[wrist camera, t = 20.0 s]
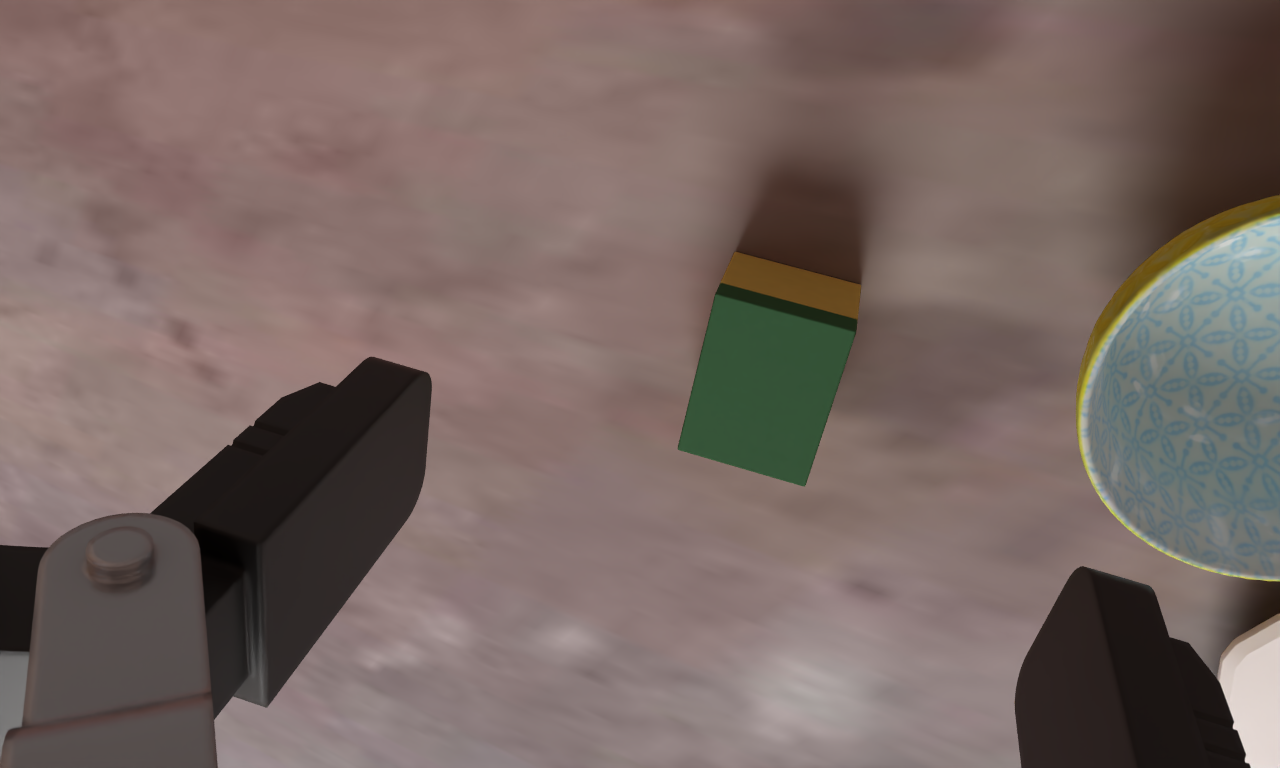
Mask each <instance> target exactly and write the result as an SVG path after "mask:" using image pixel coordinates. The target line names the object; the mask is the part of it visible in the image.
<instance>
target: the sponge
mask: <svg viewBox="0 0 1280 768" xmlns="http://www.w3.org/2000/svg"><path fill="white" fill-rule="evenodd" d="M860 293H861V285H859V284H856V283H852V282H848V281H844V280H841V279H837V278H833V277H829V276H825V275H822V274H818V273H814V272H810V271H807V270H803V269H799V268H795V267H791V266H788V265H784V264H780V263H776V262H773V261H769V260H765V259H761V258H757V257H754V256H750V255H746V254H742V253H739V252H734V254H733V256H732V259H731V261H730V263H729V265H728V267H727V269H726V272H725V274H724V276H723V278H722V280H721V283H720V285H719V287H718V289H717V292H716V294H715V297H714V301H713V306H712V310H711V314H710V318H709V322H708V326H707V330H706V334H705V338H704V342H703V346H702V350H701V355H700V359H699V363H698V367H697V371H696V375H695V379H694V383H693V387H692V391H691V395H690V400H689V404H688V408H687V412H686V416H685V420H684V424H683V428H682V432H681V436H680V440H679V445H678V450H681V451H684V452H687V453H691V454H694V455H698V456H701V457H705V458H708V459H711V460H715V461H718V462H722V463H725V464H729V465H732V466H735V467H739V468H742V469H746V470H749V471H753V472H756V473H759V474H763V475H766V476H770V477H773V478H777V479H780V480H783V481H787V482H790V483H794V484H797V485H801V486H805V485H806V482H807V479H808V476H809V473H810V470H811V467H812V464H813V461H814V458H815V455H816V452H817V449H818V446H819V443H820V440H821V437H822V434H823V431H824V428H825V425H826V422H827V419H828V416H829V413H830V410H831V407H832V404H833V401H834V398H835V395H836V392H837V389H838V386H839V383H840V380H841V377H842V374H843V370H844V367H845V364H846V361H847V358H848V355H849V352H850V349H851V346H852V343H853V340H854V337H855V334H856V329H857V320H858V311H859V302H860Z"/></svg>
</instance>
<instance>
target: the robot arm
mask: <svg viewBox="0 0 1280 768" xmlns="http://www.w3.org/2000/svg"><path fill="white" fill-rule="evenodd" d="M431 392H432V383H431V378H430V375H429V374H428V373H427V372H424V371H420V370H417V369H413V368H410V367H406V366H403V365H400V364H396V363H393V362H389V361H386V360H382V359H379V358H376V357H369V358H367V359H365V360H364V361H363V362H362V363H361V364H360V365H359V366H358V367H356V368H355V369H354V370H353V371H352V372H351V373H350V374H349V375H348V376H347V377H346V378H345V379H344V380H343V381H342V382H341V383H340V384H339V385H337V386H336V387H334V386H331V385H327V384H324V383H321V382H319V383H316V384H314V385H311V386H309V387H307V388H304V389H302V390H299V391H297V392H294V393H292V394H289V395H287V396H285V397H282V398H281V399H279V400H278V401H277V402H276V403H275V404H274V405H273V406H272V407H270V408H269V409H268V410H267V411H266V412H265V413H264V414H262V415H261V416H260V417H259V418H258V419H257V420H256V421H255V424H254V426H249V427H248V428H247V429H245V430H244V431H243V432H242V433H241V434H240V435H239V436H238V437H236V438H235V439H234V440H233V444H232V446H230V445H227V446H226V447H225V448H224V449H223V450H222V451H220V452H219V453H218V454H217V455H216V456H215V457H214V458H213V459H211V460H210V461H209V462H208V463H207V464H206V465H205V466H203V467H202V468H201V469H200V470H199V471H198V472H197V473H196V474H194V475H193V476H192V477H191V478H190V479H189V480H188V481H186V482H185V483H184V484H183V485H182V486H181V487H180V488H179V489H177V490H176V491H175V492H174V493H173V494H172V495H171V496H169V497H168V498H167V499H166V500H165V501H164V502H163V503H162V504H160V505H159V506H158V507H157V508H156V509H155V510H154V511H152V512H151V513H150V514H148V513H126V514H117V515H111V516H106V517H102V518H99V519H95V520H92V521H90V522H87V523H84V524H82V525H80V526H78V527H76V528H74V529H72V530H70V531H68V532H67V533H65V534H64V535H62V536H61V537H60V538H58V539H57V540H56V541H55V542H54V543H53V544H52V545H51V546H50V547H49V548H42V547H23V546H7V545H0V768H218V766H217V753H216V740H215V728H214V719H215V718H216V717H217V715H218V714H219V713H220V712H221V710H222V709H223V708H224V707H225V705H226V704H227V703H228V702H229V700H230V699H231V698H232V697H233V696H234V697H237V698H240V699H243V700H246V701H248V702H251V703H254V704H257V705H260V706H263V707H266V708H267V707H268V706H269V704H270V703H271V702H272V700H273V699H274V698H275V696H276V695H277V694H278V692H279V691H280V689H281V688H282V687H283V685H284V684H285V683H286V681H287V680H288V679H289V677H290V676H291V675H292V673H293V672H294V671H295V669H296V668H297V667H298V665H299V664H300V663H301V661H302V660H303V659H304V657H305V656H306V655H307V653H308V652H309V651H310V649H311V648H312V647H313V645H314V644H315V643H316V641H317V640H318V639H319V637H320V636H321V635H322V633H323V632H324V630H325V629H326V628H327V626H328V625H329V624H330V622H331V621H332V620H333V618H334V617H335V616H336V614H337V613H338V612H339V610H340V609H341V608H342V606H343V605H344V604H345V602H346V601H347V600H348V598H349V597H350V596H351V594H352V593H353V592H354V590H355V589H356V588H357V586H358V585H359V584H360V582H361V581H362V580H363V578H364V577H365V576H366V574H367V573H368V571H369V570H370V569H371V567H372V566H373V565H374V563H375V562H376V561H377V559H378V558H379V557H380V555H381V554H382V553H383V551H384V550H385V549H386V547H387V546H388V545H389V543H390V542H391V541H392V539H393V538H394V537H395V535H396V534H397V533H398V531H399V530H400V529H401V527H402V526H403V525H404V523H405V522H406V521H407V519H408V518H409V516H410V514H411V513H412V511H413V509H414V507H415V505H416V502H417V500H418V497H419V494H420V491H421V488H422V484H423V480H424V475H425V467H426V454H427V442H428V429H429V417H430V405H431ZM1015 715H1016V724H1017V733H1018V741H1019V750H1020V758H1021V767H1022V768H1251V767H1250V764H1249V763H1246V762H1245V757H1246V753H1245V750H1244V747H1243V745H1242V742H1241V739H1240V736H1239V734H1238V731H1237V730H1235V729H1233V724H1234V720H1233V717H1232V714H1231V712H1230V709H1229V706H1228V703H1227V701H1226V698H1225V695H1224V692H1223V690H1222V687H1221V684H1220V682H1219V681H1218V680H1217V678H1216V677H1215V676H1214V675H1213V673H1212V672H1211V671H1210V669H1209V668H1208V667H1207V666H1206V664H1205V663H1204V662H1203V661H1202V659H1201V658H1200V657H1199V656H1198V654H1197V653H1196V652H1195V650H1194V649H1193V648H1192V647H1191V645H1190V644H1189V643H1187V642H1184V641H1180V640H1177V639H1174V638H1170V637H1169V635H1168V632H1167V628H1166V625H1165V622H1164V619H1163V616H1162V613H1161V610H1160V607H1159V603H1158V600H1157V597H1156V595H1155V592H1154V590H1153V589H1152V588H1151V587H1150V586H1149V585H1145V584H1142V583H1139V582H1135V581H1132V580H1128V579H1125V578H1122V577H1118V576H1115V575H1111V574H1108V573H1104V572H1101V571H1098V570H1094V569H1091V568H1087V567H1084V566H1082V567H1079V568H1077V569H1076V570H1075V571H1074V572H1073V573H1072V574H1071V576H1070V577H1069V579H1068V581H1067V582H1066V584H1065V586H1064V588H1063V590H1062V591H1061V593H1060V595H1059V597H1058V599H1057V601H1056V602H1055V604H1054V606H1053V608H1052V610H1051V611H1050V613H1049V615H1048V617H1047V619H1046V621H1045V622H1044V624H1043V626H1042V628H1041V630H1040V631H1039V633H1038V635H1037V637H1036V639H1035V641H1034V642H1033V644H1032V646H1031V648H1030V650H1029V652H1028V653H1027V655H1026V657H1025V659H1024V662H1023V664H1022V667H1021V670H1020V673H1019V677H1018V681H1017V686H1016V693H1015Z"/></svg>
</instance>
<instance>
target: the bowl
mask: <svg viewBox="0 0 1280 768" xmlns="http://www.w3.org/2000/svg"><path fill="white" fill-rule="evenodd" d="M1076 428H1077V436H1078V442H1079V448H1080V453H1081V457H1082V460H1083V464H1084V467H1085V469H1086V472H1087V474H1088V476H1089V478H1090V480H1091V482H1092V484H1093V486H1094V488H1095V490H1096V492H1097V493H1098V495H1099V497H1100V498H1101V500H1102V501H1103V503H1104V504H1105V505H1106V506H1107V507H1108V509H1109V510H1110V511H1111V512H1112V514H1113V515H1114V516H1115V517H1116V518H1117V519H1118V520H1119V521H1120V522H1121V523H1122V524H1123V525H1124V526H1125V527H1126V528H1128V529H1129V530H1130V531H1131V532H1133V533H1134V534H1135V535H1136V536H1138V537H1139V538H1140V539H1142V540H1143V541H1145V542H1146V543H1148V544H1149V545H1151V546H1152V547H1154V548H1156V549H1157V550H1159V551H1161V552H1163V553H1165V554H1167V555H1169V556H1171V557H1173V558H1175V559H1177V560H1180V561H1182V562H1185V563H1187V564H1190V565H1192V566H1195V567H1198V568H1201V569H1205V570H1208V571H1211V572H1216V573H1220V574H1224V575H1228V576H1235V577H1240V578H1245V579H1252V580H1264V581H1279V582H1280V195H1276V196H1272V197H1268V198H1264V199H1261V200H1258V201H1255V202H1251V203H1247V204H1244V205H1240V206H1238V207H1235V208H1232V209H1229V210H1227V211H1224V212H1221V213H1219V214H1217V215H1215V216H1213V217H1211V218H1208V219H1206V220H1204V221H1202V222H1200V223H1198V224H1196V225H1195V226H1193V227H1191V228H1189V229H1187V230H1186V231H1184V232H1182V233H1181V234H1179V235H1178V236H1176V237H1175V238H1173V239H1172V240H1171V241H1169V242H1168V243H1167V244H1165V245H1164V246H1162V247H1161V248H1160V249H1158V250H1157V251H1156V252H1155V253H1154V254H1152V255H1151V256H1150V257H1149V258H1148V259H1147V260H1145V261H1144V262H1143V263H1142V264H1141V265H1140V266H1139V267H1138V268H1137V269H1136V270H1135V271H1134V272H1133V273H1132V274H1131V275H1130V276H1129V278H1128V279H1127V280H1126V281H1125V282H1124V283H1123V284H1122V285H1121V287H1120V288H1119V289H1118V290H1117V292H1116V293H1115V294H1114V295H1113V297H1112V299H1111V300H1110V302H1109V303H1108V305H1107V306H1106V307H1105V309H1104V310H1103V312H1102V314H1101V315H1100V317H1099V318H1098V320H1097V322H1096V324H1095V327H1094V329H1093V331H1092V334H1091V336H1090V339H1089V341H1088V344H1087V348H1086V351H1085V354H1084V356H1083V359H1082V363H1081V367H1080V374H1079V379H1078V384H1077V393H1076Z"/></svg>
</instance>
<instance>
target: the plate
mask: <svg viewBox="0 0 1280 768" xmlns="http://www.w3.org/2000/svg"><path fill="white" fill-rule="evenodd" d="M1217 680H1218V681H1219V682H1220V684H1221V687H1222V690H1223V692H1224V695H1225V698H1226V701H1227V703H1228V706H1229V709H1230V712H1231V714H1232V717H1233V720H1234V724H1233V729H1235V730H1237V731H1238V734H1239V736H1240V739H1241V742H1242V745H1243V747H1244V750H1245V753H1246V757H1245V762H1246V763H1249V764H1250V767H1251V768H1280V613H1278V614H1277V615H1275V616H1273V617H1271V618H1270V619H1268V620H1266V621H1264V622H1263V623H1261V624H1259V625H1257V626H1256V627H1254V628H1252V629H1250V630H1249V631H1247V632H1245V633H1243V634H1242V635H1240V636H1238V637H1236V638H1235V639H1234V640H1233V641H1232V642H1231V643H1230V644H1229V646H1228V647H1227V648H1226V649H1225V651H1224V652H1223V653H1222V655H1221V658H1220V664H1219V670H1218V676H1217Z"/></svg>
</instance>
